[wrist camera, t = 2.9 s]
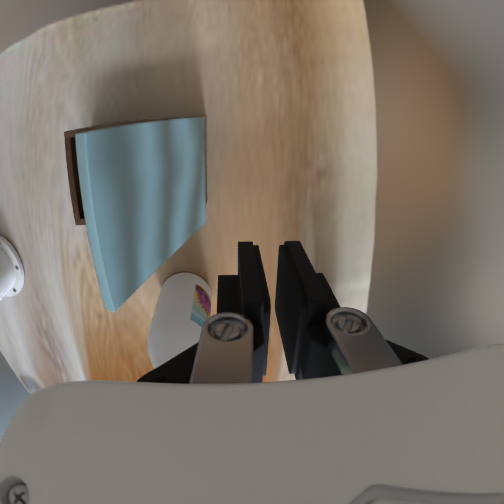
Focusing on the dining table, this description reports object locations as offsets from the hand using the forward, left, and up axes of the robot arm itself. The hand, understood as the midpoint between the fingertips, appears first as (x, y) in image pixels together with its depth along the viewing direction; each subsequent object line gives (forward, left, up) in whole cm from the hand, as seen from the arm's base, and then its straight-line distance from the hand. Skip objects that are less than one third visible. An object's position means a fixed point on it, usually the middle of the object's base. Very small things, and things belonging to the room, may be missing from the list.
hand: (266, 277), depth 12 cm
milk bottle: (-8, -20, -29) cm, 36 cm away
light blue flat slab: (-7, 0, -13) cm, 15 cm away
